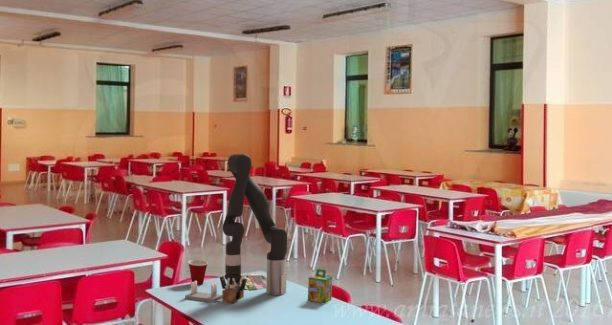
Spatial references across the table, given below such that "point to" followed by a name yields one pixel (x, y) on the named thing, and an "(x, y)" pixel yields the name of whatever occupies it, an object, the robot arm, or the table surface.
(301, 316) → the table surface
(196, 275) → the plastic cup
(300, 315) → the table surface
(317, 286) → the green yellow handled box
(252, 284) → the city model
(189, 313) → the table surface
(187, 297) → the peg rack
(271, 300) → the table surface
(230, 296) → the brown wooden block
